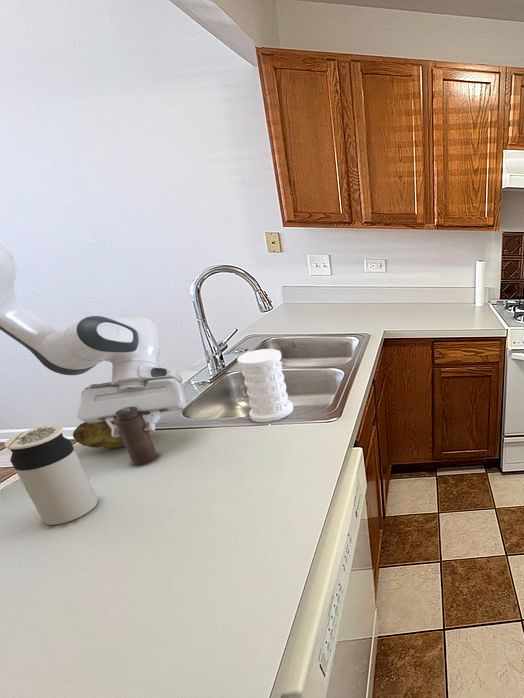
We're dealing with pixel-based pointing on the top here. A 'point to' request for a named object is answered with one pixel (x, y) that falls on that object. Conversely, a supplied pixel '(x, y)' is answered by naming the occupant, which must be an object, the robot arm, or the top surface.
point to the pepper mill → (135, 436)
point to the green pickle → (97, 435)
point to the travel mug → (52, 474)
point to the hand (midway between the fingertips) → (133, 433)
